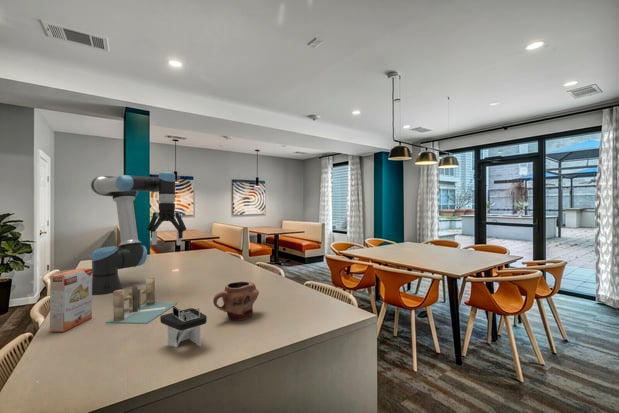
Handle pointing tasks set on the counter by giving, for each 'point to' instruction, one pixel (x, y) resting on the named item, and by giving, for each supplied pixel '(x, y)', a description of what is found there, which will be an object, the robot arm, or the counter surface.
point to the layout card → (144, 313)
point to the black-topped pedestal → (183, 325)
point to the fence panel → (147, 293)
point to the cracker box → (70, 299)
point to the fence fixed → (119, 302)
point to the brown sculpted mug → (238, 300)
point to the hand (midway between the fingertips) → (166, 244)
